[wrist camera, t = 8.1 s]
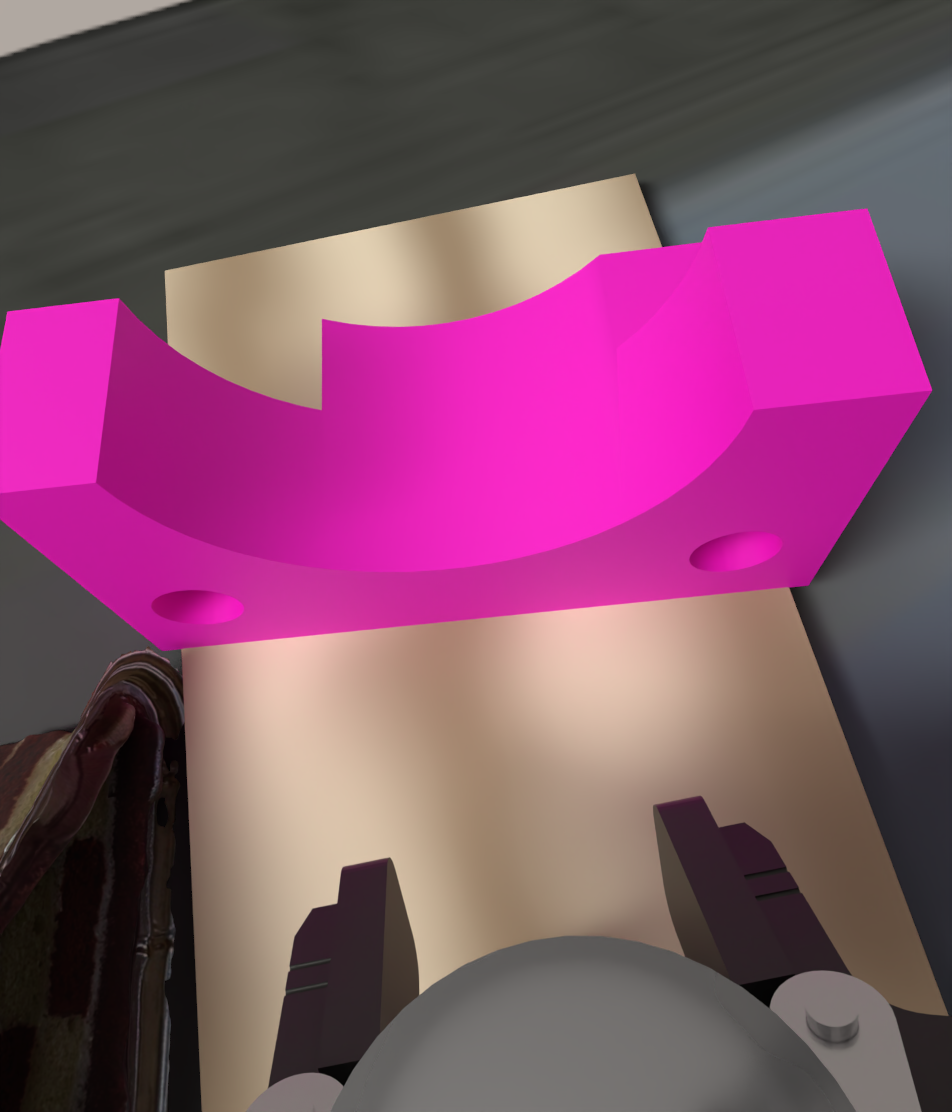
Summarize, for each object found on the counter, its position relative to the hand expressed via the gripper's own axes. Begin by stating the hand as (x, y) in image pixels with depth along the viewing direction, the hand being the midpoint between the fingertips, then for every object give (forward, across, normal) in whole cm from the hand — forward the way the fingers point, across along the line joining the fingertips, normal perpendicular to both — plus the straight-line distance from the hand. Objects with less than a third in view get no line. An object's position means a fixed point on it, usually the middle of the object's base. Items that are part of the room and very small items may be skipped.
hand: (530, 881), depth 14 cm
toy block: (+10, 0, -3) cm, 11 cm away
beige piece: (+9, 0, -1) cm, 9 cm away
